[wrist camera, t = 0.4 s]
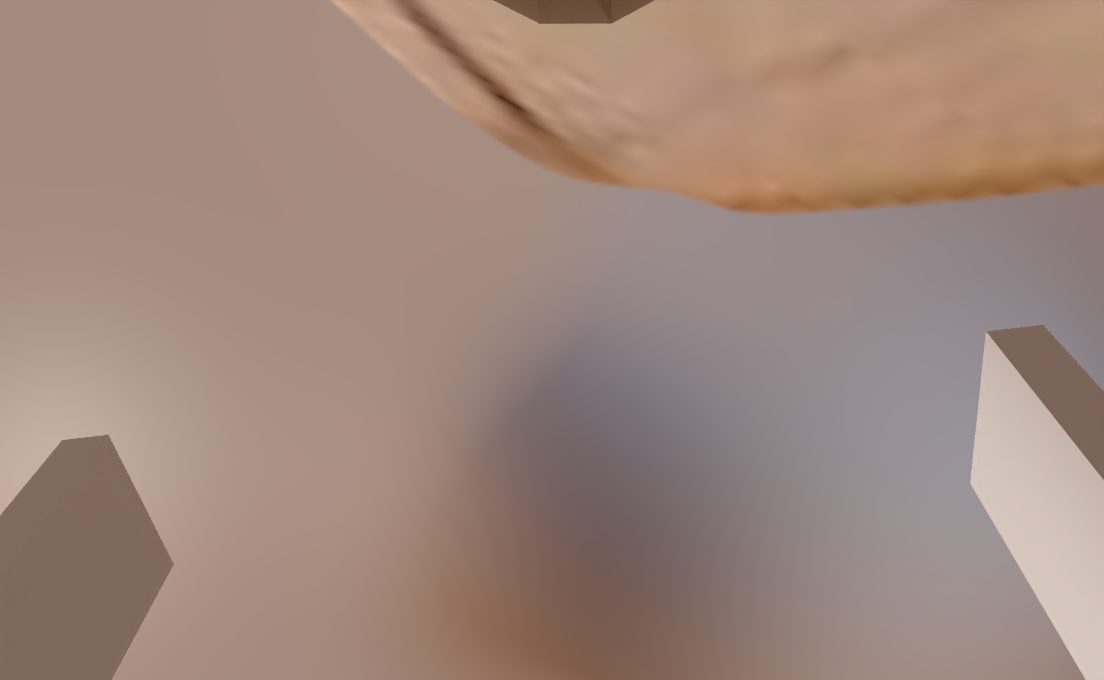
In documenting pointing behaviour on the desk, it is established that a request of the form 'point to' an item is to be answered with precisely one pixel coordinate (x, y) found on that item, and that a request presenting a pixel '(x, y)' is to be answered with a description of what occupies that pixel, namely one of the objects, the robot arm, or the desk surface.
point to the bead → (574, 10)
